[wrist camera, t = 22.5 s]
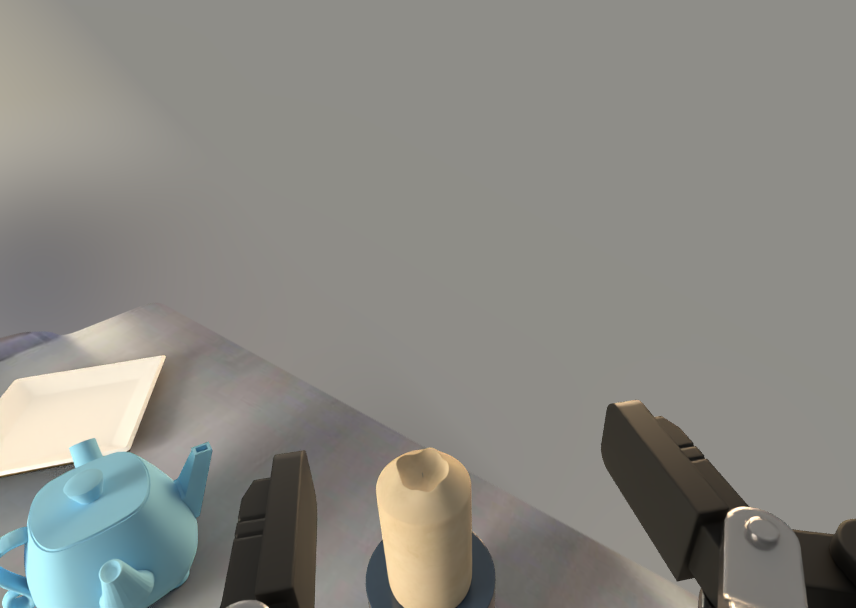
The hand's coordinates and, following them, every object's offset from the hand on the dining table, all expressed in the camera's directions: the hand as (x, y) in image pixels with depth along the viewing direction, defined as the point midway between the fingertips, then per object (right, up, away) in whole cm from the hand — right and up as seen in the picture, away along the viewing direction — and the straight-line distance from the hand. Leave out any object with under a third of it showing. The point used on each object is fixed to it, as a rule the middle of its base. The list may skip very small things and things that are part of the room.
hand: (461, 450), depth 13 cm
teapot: (-26, -19, +30) cm, 44 cm away
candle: (-1, -14, +20) cm, 25 cm away
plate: (-44, -11, +48) cm, 66 cm away
